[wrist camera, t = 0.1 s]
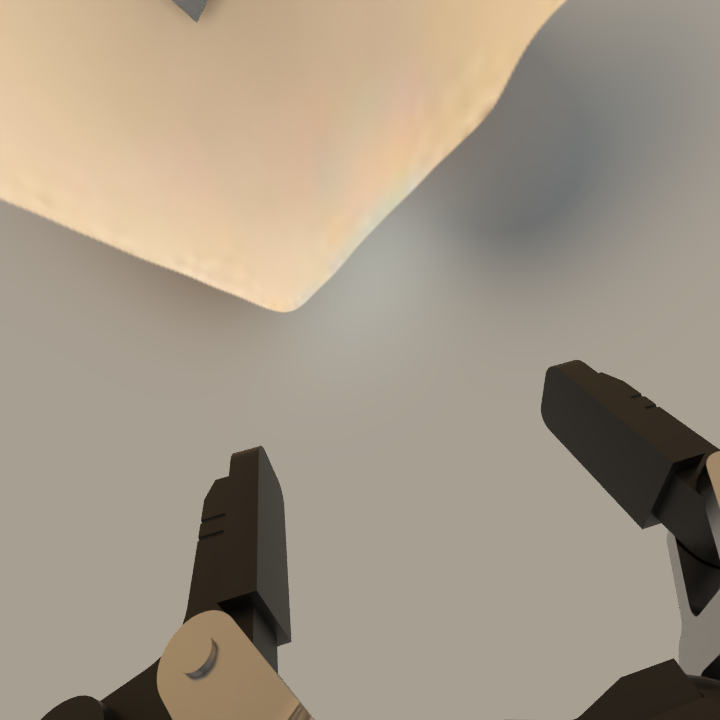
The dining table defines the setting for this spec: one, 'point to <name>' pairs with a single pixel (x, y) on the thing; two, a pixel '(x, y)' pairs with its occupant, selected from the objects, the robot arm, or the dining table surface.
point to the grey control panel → (192, 7)
